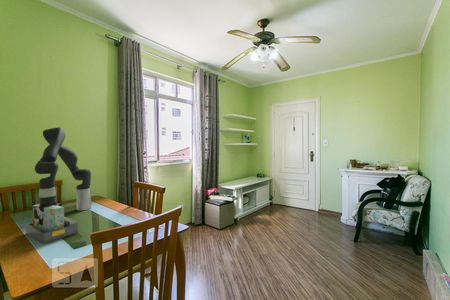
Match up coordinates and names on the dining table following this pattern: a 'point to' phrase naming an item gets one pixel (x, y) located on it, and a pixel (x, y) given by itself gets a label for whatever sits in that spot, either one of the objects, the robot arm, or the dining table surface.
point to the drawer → (44, 237)
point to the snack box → (50, 218)
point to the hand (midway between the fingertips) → (48, 222)
